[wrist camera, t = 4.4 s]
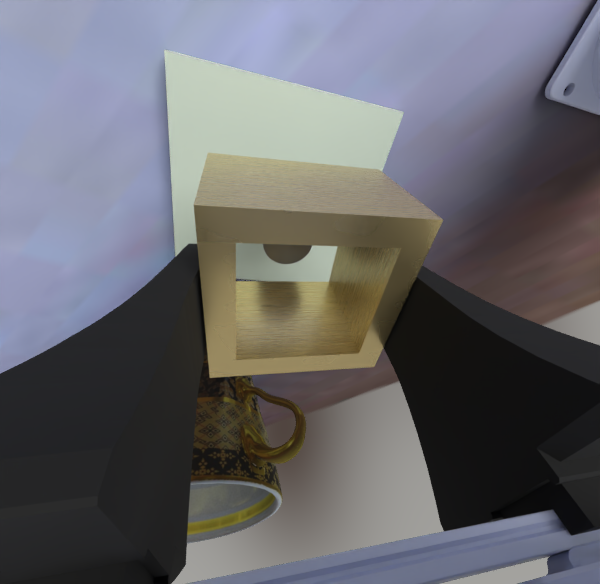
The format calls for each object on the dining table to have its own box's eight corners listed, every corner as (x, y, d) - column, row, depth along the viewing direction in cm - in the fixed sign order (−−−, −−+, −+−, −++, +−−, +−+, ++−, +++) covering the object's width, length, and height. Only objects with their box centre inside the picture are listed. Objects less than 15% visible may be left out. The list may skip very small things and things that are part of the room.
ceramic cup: (208, 411, 27) (196, 550, 20) (105, 368, 21) (31, 542, 14) (321, 345, 24) (360, 482, 16) (236, 271, 18) (234, 431, 10)
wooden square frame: (378, 169, 10) (443, 219, 7) (341, 295, 13) (374, 366, 10) (207, 152, 9) (193, 204, 6) (216, 296, 12) (209, 377, 9)
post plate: (396, 110, 14) (458, 130, 10) (336, 279, 20) (360, 333, 16) (168, 50, 11) (131, 46, 7) (178, 266, 17) (161, 327, 13)
